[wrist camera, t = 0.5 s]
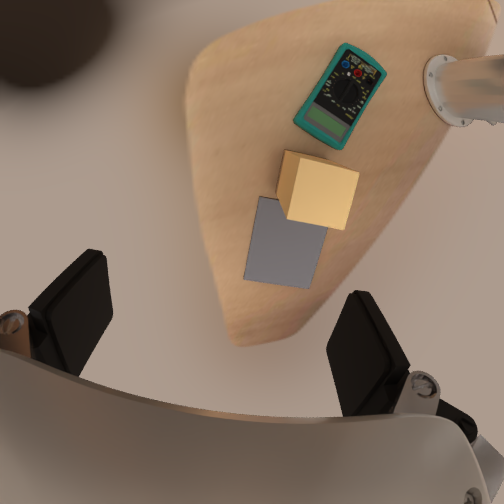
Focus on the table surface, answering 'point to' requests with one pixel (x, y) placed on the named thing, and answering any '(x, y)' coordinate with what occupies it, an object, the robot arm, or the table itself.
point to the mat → (282, 247)
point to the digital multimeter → (340, 96)
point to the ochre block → (315, 190)
